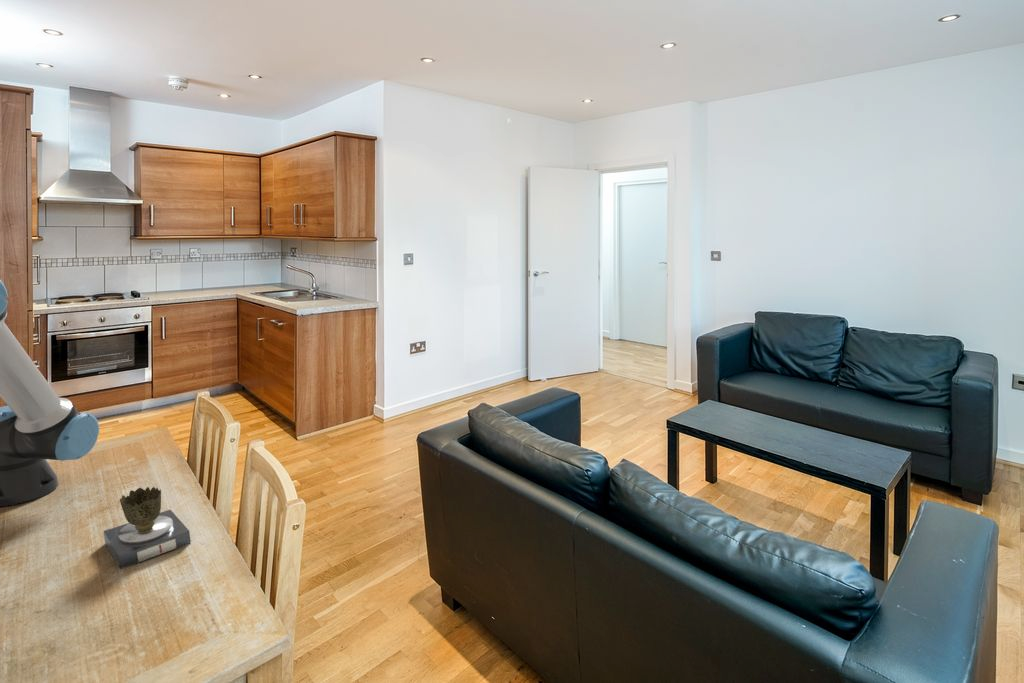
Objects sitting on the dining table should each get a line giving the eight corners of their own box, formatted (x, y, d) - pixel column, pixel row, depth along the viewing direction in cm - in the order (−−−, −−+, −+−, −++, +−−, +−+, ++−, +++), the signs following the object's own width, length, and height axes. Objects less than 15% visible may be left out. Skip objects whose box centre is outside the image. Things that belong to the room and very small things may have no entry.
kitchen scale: (105, 543, 121) (102, 527, 120) (171, 521, 130) (169, 506, 129) (121, 570, 111) (119, 553, 111) (192, 544, 121) (190, 528, 120)
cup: (144, 539, 116) (140, 505, 114) (116, 534, 117) (110, 500, 115) (173, 521, 123) (169, 488, 121) (145, 516, 124) (141, 484, 123)
